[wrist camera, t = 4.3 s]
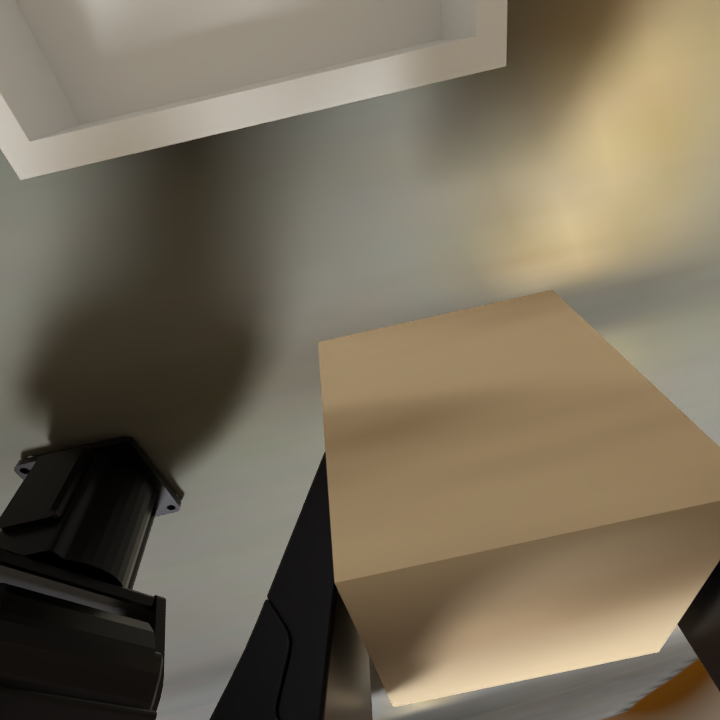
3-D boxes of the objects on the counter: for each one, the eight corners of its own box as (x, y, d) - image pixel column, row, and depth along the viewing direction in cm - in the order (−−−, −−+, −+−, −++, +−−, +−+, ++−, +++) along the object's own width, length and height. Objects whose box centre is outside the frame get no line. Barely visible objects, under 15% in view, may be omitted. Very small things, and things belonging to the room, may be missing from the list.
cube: (536, 447, 12) (659, 652, 8) (361, 485, 12) (393, 707, 8) (552, 289, 9) (765, 490, 5) (318, 342, 9) (334, 582, 5)
